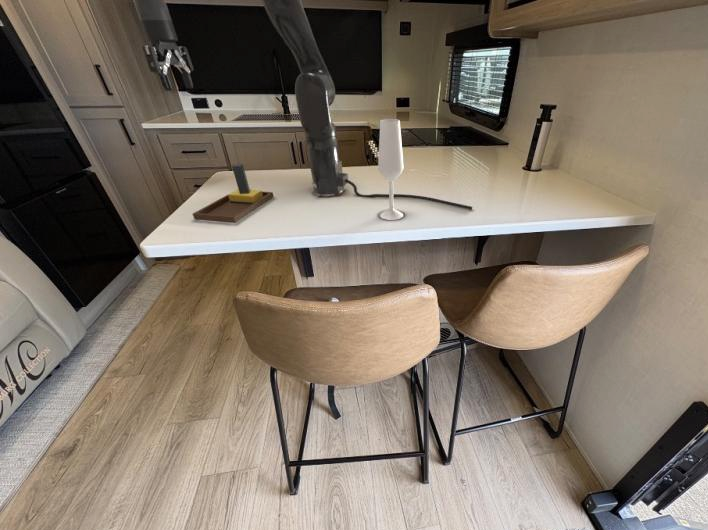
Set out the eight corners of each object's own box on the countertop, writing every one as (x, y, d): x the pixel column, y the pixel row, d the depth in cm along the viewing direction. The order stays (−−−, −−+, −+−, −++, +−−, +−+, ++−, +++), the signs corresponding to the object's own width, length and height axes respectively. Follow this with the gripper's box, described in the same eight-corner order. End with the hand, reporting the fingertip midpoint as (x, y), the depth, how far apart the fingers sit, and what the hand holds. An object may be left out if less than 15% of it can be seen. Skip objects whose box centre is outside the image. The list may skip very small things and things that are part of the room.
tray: (274, 198, 105) (272, 192, 104) (236, 224, 89) (233, 217, 88) (238, 196, 107) (236, 189, 106) (195, 221, 91) (192, 213, 90)
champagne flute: (401, 210, 97) (402, 118, 83) (404, 219, 92) (405, 122, 77) (379, 211, 96) (375, 118, 82) (380, 220, 91) (377, 123, 77)
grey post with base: (263, 198, 103) (254, 163, 97) (254, 204, 99) (244, 168, 93) (240, 196, 105) (230, 161, 98) (230, 202, 100) (219, 166, 94)
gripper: (146, 16, 84) (173, 91, 93) (186, 21, 95) (206, 87, 105) (121, 17, 85) (150, 91, 95) (164, 21, 96) (186, 87, 106)
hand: (180, 89), depth 100 cm, fingers open, 8 cm apart
